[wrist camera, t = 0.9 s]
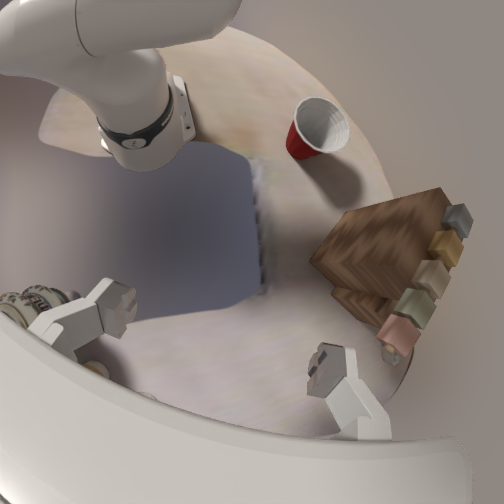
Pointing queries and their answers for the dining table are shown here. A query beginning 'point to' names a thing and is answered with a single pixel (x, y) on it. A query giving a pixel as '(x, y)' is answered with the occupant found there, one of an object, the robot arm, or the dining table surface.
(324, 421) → the dining table surface
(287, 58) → the dining table surface
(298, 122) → the plastic cup
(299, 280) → the dining table surface
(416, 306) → the bead bar
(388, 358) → the lighter
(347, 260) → the walnut display stand
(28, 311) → the apothecary jar
